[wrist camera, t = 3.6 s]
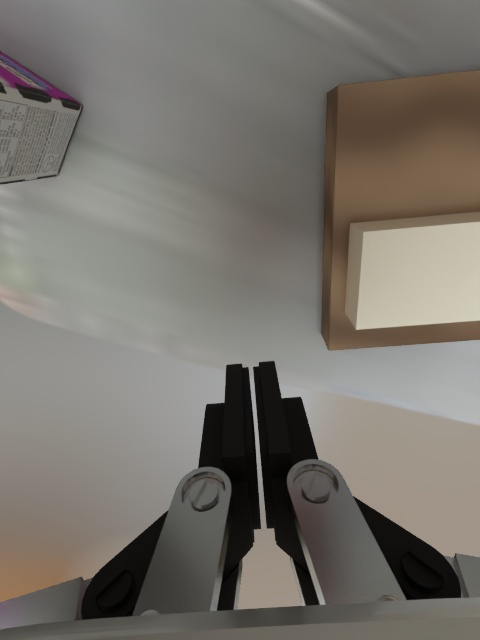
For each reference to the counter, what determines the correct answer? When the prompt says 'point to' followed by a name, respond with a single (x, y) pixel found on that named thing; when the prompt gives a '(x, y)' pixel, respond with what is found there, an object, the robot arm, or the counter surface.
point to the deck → (396, 181)
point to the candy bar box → (32, 124)
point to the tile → (414, 271)
